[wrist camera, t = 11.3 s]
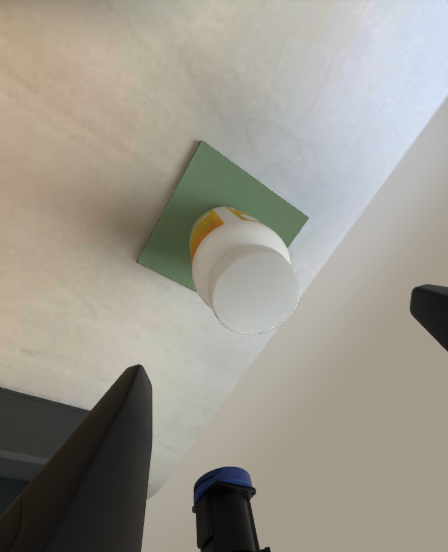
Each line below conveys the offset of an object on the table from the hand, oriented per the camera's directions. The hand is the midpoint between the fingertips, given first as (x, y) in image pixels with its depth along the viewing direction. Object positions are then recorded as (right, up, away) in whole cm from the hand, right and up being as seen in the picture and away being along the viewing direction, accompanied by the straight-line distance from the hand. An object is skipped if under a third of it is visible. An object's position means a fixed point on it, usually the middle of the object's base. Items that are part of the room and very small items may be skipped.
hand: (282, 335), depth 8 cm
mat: (-2, +5, +12) cm, 13 cm away
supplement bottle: (-2, +5, +12) cm, 13 cm away
